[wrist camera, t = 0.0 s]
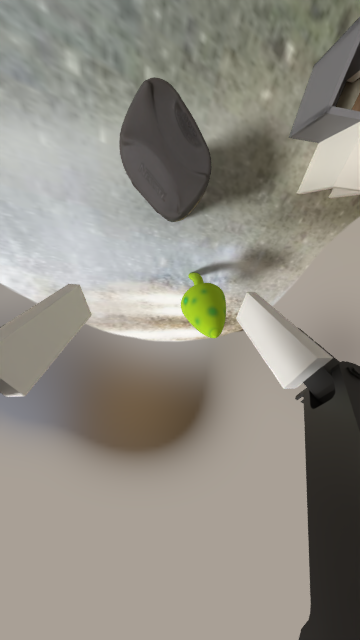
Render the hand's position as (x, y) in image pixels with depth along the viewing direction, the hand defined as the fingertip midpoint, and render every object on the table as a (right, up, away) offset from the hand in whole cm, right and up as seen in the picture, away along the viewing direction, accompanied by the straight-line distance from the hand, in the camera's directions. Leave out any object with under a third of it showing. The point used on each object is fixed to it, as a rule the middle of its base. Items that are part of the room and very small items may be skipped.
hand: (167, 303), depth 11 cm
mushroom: (+4, +11, +27) cm, 30 cm away
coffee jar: (-1, +25, +16) cm, 30 cm away
